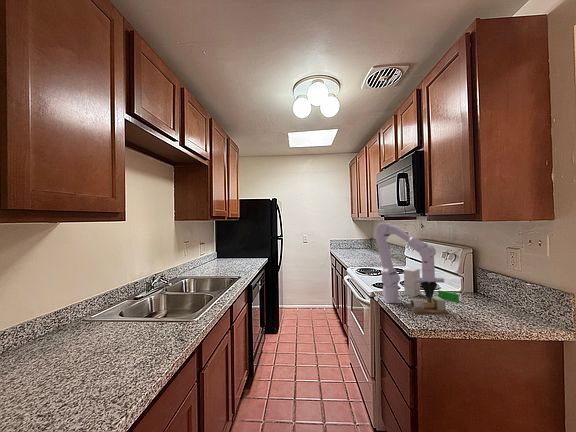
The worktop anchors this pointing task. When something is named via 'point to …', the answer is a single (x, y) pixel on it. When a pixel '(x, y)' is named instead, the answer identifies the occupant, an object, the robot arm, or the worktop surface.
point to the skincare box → (411, 282)
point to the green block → (448, 296)
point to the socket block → (439, 303)
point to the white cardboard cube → (417, 303)
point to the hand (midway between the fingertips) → (429, 297)
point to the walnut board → (428, 310)
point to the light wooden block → (429, 302)
